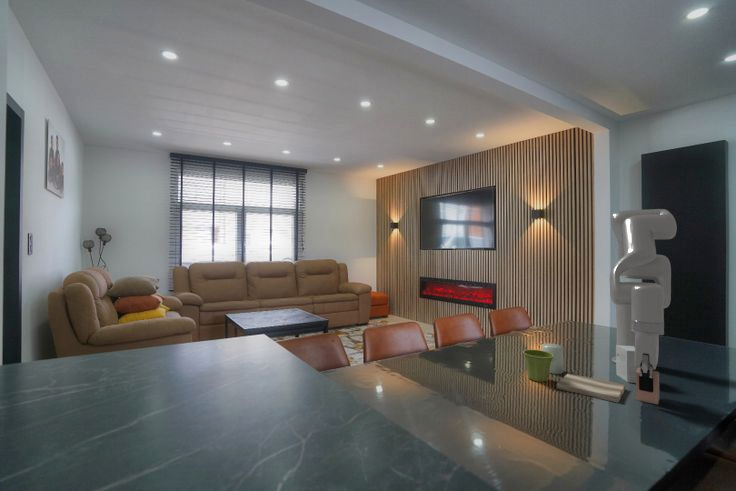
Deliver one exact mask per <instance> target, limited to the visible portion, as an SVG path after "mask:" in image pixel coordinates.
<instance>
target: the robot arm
mask: <svg viewBox="0 0 736 491" xmlns="http://www.w3.org/2000/svg"><path fill="white" fill-rule="evenodd" d="M610 224H611V229H612V232H613V234H614V235H615V239H616V240H617V247H618V248H617V250H618V251H617V252H618V254H617V256H618V257H617V261H616V263H615V264H614V265H613V266H612V268H611V270H610V274H609V295H610V299H611V301H612V303H613V304H615V310H616V312H615V313H616V314H615V315H616V345H622V346H634V347H635V361H634V365H635V366H636V367H638V366H639V365H640V375H639V390H642V391H647V392H651V393H652V392H653V378H652V371H657V370H656V368H657V366H658V361H659V353H660V352H659V351H660V350H659V343H660V342H659V341H660V340H659V338H660V336H663V335H664V334H665V317H664V316H665V315H664V314H665V309H666V308H669V306H670V304H671V299H672V297H671V295H672V268H671V266H672V265H671V262H670V259H669V258H668V257H667V256H666V255H663V254H657V249H656V243H655V242H656V241H655V240H671V239H674V238H675V237H676V234H677V230H678V229H677V222H676V219H675V217H674V215H673V214H672V213H671V212H670V211H669V210H668V209H665V208H664V209H663V208H656V209H655V208H653V209H651V208H650V209H628V210H627V209H626V210H619V211H616V212H614V213H612V215H611V216H610ZM621 277H622V278H625V279H629V280H630V279H631V280H632V279H633V280H649V281H650V280H653V281H654V282H655V283H654V282H641V281H640V282H639V281H622V282H621V281H620V280H621V279H620V278H621ZM611 362H613V363H615V364H616V356H613V357H611Z"/></svg>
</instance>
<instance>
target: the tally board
mask: <svg viewBox="0 0 736 491" xmlns="http://www.w3.org/2000/svg"><path fill="white" fill-rule="evenodd" d="M556 389H558V390H561V391H567V392H571V393H574V392H575V394H578V393H579V395H584V396H588V397H591V398H595V399H601V400H604V401H609V402H614V403H617V404H618V403H620V400H621V399H622V396H623V395H624V392H625V390H626V384H624V383H619V382H614V381H609V380H603V379H599V378H594V377H588V376H584V375H579V374H576V373H569V372H568V373H566V374H565V375H564V376H563V377H562V378H561V379H560V380H559V381H558V382H557V383H556Z"/></svg>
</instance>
